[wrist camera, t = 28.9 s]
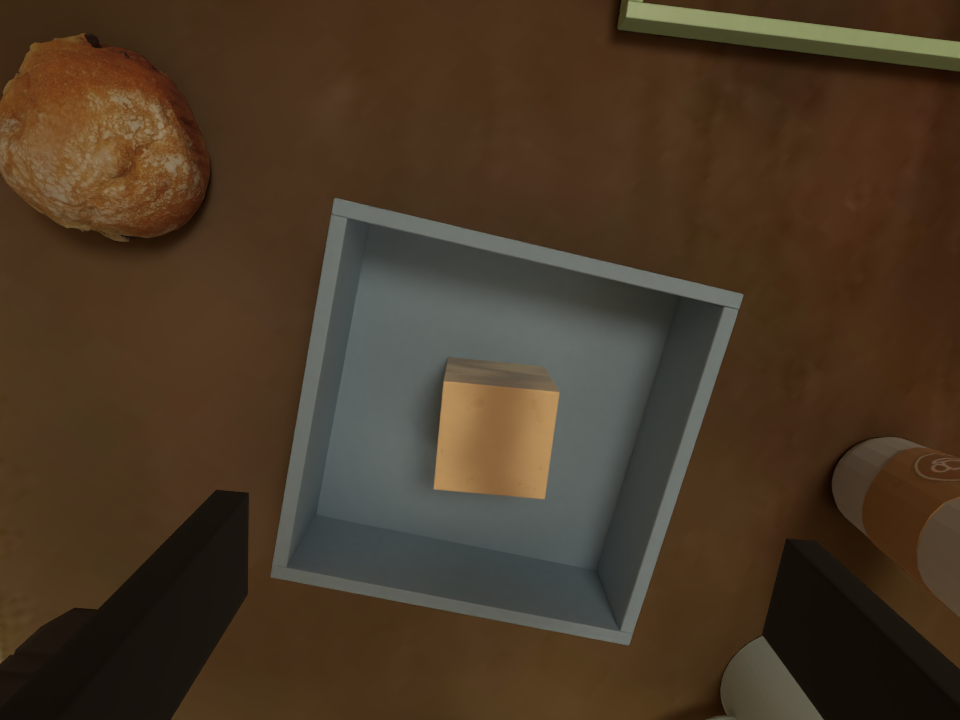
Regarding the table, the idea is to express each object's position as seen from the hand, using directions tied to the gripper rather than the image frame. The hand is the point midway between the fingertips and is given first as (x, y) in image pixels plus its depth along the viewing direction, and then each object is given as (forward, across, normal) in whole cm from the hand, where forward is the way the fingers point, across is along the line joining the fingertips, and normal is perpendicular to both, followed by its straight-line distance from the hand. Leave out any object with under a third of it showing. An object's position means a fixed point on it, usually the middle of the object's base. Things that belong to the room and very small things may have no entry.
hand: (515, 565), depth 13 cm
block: (+21, 0, -3) cm, 21 cm away
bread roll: (+22, -22, +10) cm, 33 cm away
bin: (+22, 0, -3) cm, 22 cm away
